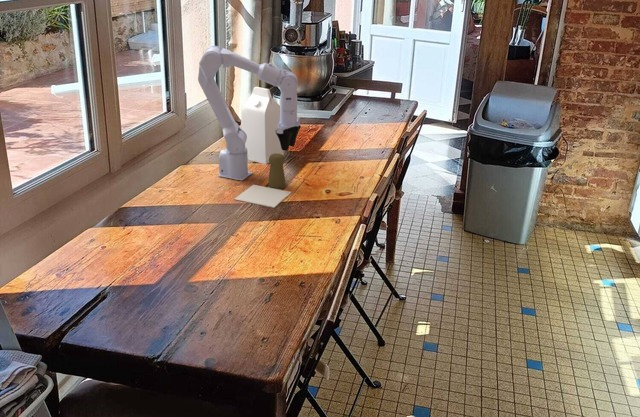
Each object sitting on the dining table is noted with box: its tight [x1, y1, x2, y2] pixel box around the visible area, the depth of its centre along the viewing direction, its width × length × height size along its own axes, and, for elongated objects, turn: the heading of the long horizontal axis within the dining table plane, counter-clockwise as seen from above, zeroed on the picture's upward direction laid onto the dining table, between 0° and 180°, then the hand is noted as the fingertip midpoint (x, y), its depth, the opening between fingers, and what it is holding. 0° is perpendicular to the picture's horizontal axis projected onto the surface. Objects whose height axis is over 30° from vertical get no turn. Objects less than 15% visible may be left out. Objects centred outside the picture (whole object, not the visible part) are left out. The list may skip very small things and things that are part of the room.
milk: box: [240, 86, 285, 165], centre depth 227 cm, size 12×12×26 cm
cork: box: [267, 153, 286, 190], centre depth 205 cm, size 6×6×11 cm
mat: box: [233, 184, 292, 209], centre depth 199 cm, size 14×13×1 cm
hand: (288, 148), depth 210 cm, fingers open, 4 cm apart
